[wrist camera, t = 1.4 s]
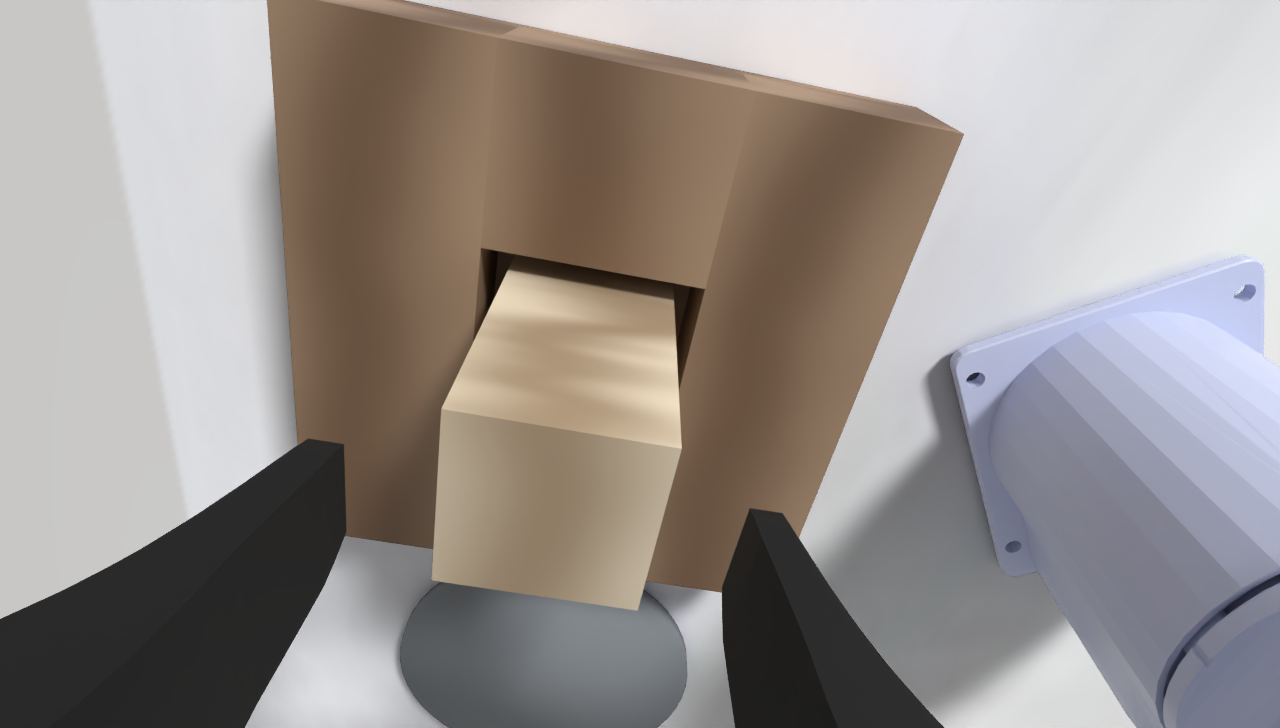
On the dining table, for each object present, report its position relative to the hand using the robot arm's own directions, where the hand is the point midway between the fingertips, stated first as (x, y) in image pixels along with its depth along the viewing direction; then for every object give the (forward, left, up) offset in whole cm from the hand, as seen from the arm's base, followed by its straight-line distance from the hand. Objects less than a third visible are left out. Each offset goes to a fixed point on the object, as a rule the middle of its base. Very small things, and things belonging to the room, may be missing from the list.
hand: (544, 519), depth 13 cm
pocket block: (0, 0, -9) cm, 9 cm away
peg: (0, 0, -8) cm, 8 cm away
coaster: (-13, +8, -9) cm, 17 cm away
